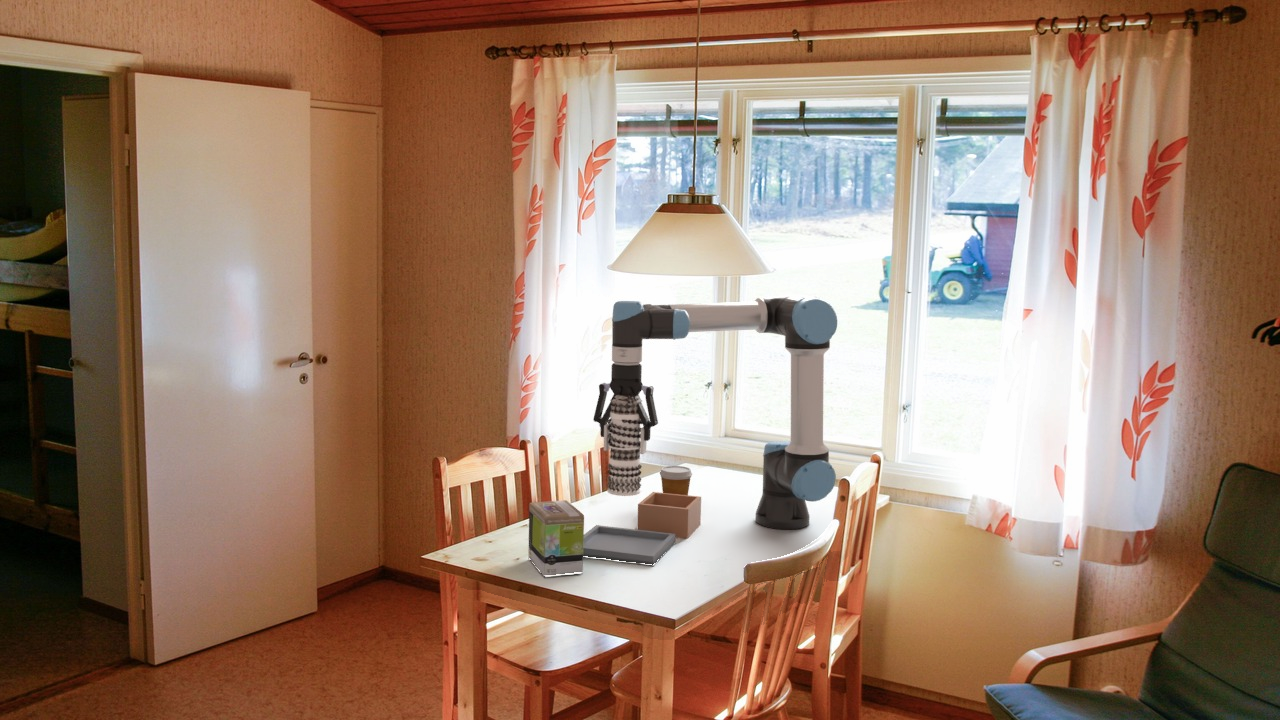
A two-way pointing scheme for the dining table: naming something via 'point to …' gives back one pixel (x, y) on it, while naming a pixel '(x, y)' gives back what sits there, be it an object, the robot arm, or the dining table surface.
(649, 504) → the terracotta holder
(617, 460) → the decorative candle
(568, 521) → the tea box
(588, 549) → the slate tray
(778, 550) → the dining table surface
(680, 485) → the disposable coffee cup
